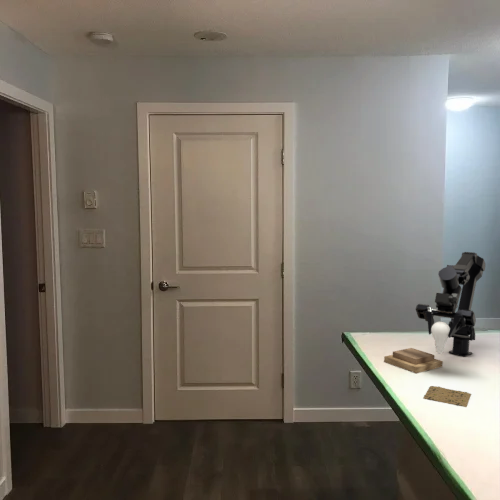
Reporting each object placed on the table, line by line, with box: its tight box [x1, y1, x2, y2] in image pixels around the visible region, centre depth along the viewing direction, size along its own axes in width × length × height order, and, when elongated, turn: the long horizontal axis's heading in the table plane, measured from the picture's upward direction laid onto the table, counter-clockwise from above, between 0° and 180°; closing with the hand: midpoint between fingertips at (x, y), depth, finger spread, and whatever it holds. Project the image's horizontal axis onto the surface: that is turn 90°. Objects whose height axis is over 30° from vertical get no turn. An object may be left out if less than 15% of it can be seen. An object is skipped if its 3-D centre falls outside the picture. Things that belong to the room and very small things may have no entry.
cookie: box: [422, 385, 472, 408], centre depth 149 cm, size 12×12×1 cm
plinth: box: [383, 347, 443, 374], centre depth 178 cm, size 14×14×4 cm
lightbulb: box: [431, 321, 450, 355], centre depth 168 cm, size 6×6×11 cm
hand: (439, 335), depth 167 cm, fingers closed on lightbulb, 6 cm apart
